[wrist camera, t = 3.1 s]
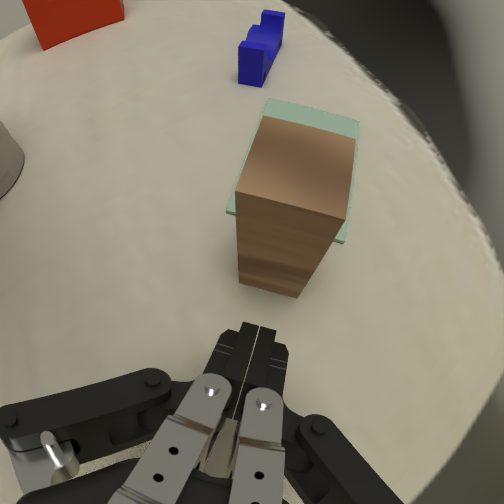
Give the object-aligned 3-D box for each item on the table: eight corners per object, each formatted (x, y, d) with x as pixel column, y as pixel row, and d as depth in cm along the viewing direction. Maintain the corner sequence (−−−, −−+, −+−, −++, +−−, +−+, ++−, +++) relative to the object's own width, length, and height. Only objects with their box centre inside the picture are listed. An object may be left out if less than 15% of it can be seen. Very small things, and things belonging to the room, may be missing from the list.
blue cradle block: (252, 40, 41) (253, 8, 36) (281, 45, 41) (285, 12, 35) (227, 82, 37) (225, 44, 31) (261, 88, 36) (264, 50, 31)
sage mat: (343, 243, 28) (344, 241, 28) (226, 212, 29) (226, 210, 29) (358, 124, 34) (359, 121, 34) (268, 101, 35) (268, 97, 35)
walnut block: (297, 298, 27) (345, 219, 14) (239, 282, 27) (234, 190, 14) (309, 244, 28) (356, 139, 15) (255, 230, 29) (263, 115, 16)
